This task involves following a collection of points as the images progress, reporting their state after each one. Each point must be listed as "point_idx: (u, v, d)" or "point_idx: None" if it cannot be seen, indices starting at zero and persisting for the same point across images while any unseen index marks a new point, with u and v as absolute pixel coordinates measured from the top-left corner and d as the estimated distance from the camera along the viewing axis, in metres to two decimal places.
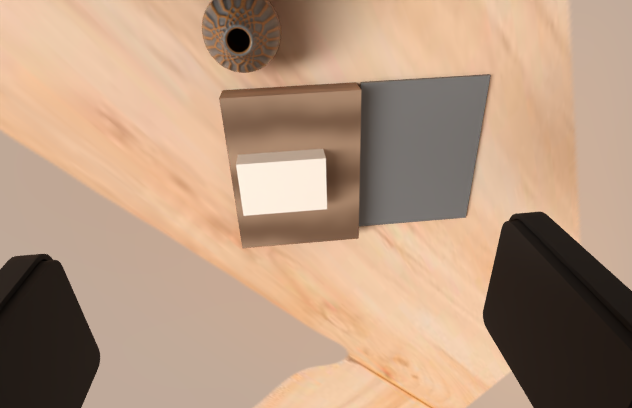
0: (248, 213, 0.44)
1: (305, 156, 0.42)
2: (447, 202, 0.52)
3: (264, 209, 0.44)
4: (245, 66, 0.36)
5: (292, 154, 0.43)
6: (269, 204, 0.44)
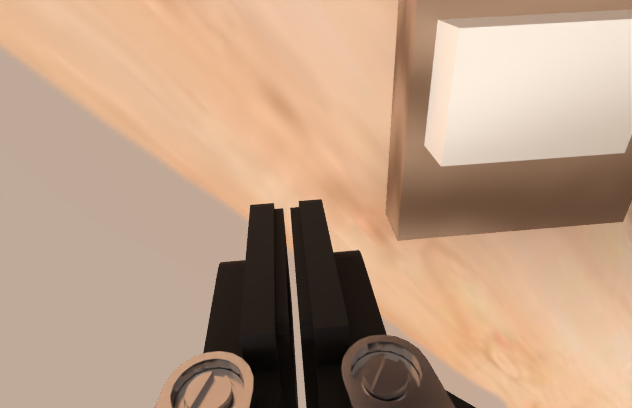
0: (453, 160, 0.19)
1: (615, 16, 0.17)
2: None
3: (491, 152, 0.19)
4: None
5: (576, 16, 0.18)
6: (506, 138, 0.19)
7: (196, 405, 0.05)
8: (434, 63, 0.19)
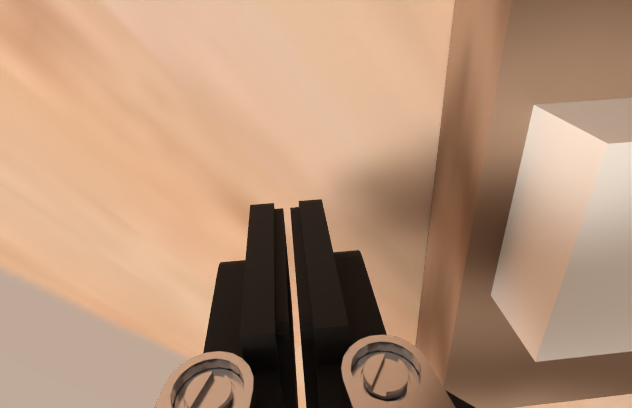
0: (558, 353, 0.11)
1: None
2: None
3: (627, 338, 0.11)
4: None
5: None
6: None
7: (196, 405, 0.05)
8: (521, 178, 0.11)
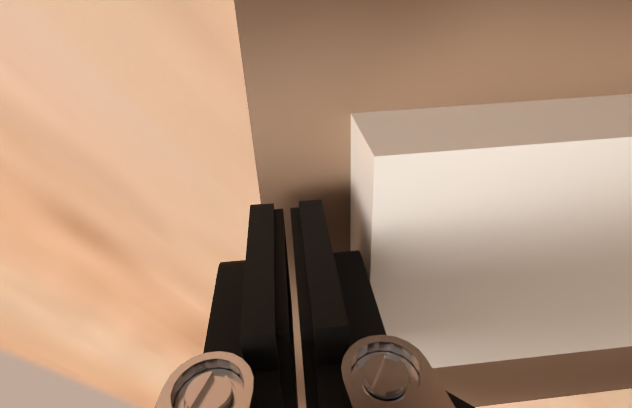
0: None
1: None
2: None
3: (459, 351, 0.10)
4: None
5: (618, 110, 0.09)
6: (486, 330, 0.10)
7: (196, 405, 0.05)
8: (351, 187, 0.10)
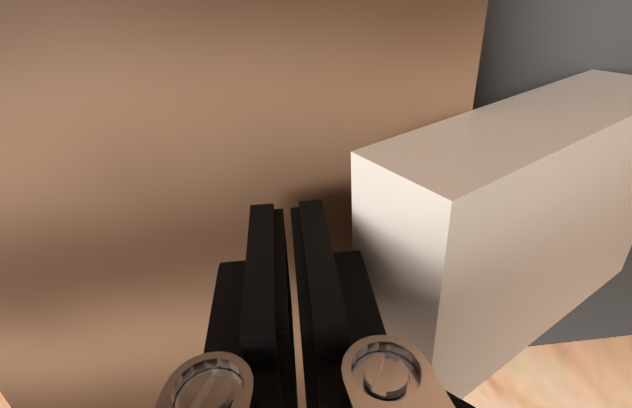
0: None
1: (621, 94, 0.10)
2: None
3: (493, 362, 0.10)
4: None
5: (566, 100, 0.10)
6: (512, 332, 0.10)
7: (196, 405, 0.05)
8: (357, 233, 0.09)
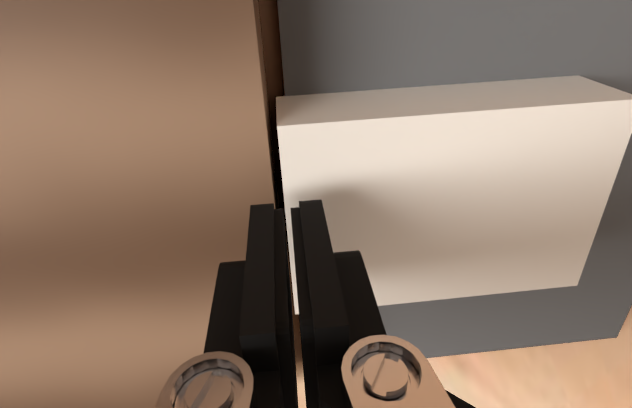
0: None
1: (546, 95, 0.11)
2: (573, 302, 0.17)
3: None
4: None
5: (487, 92, 0.11)
6: (390, 275, 0.12)
7: (196, 405, 0.05)
8: None
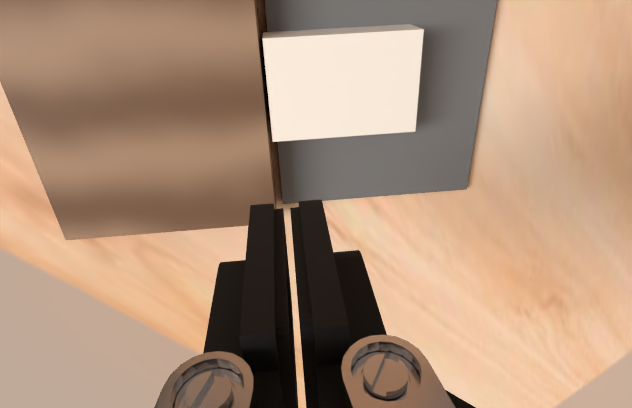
0: (281, 137, 0.25)
1: (385, 29, 0.24)
2: (434, 161, 0.30)
3: (309, 131, 0.25)
4: None
5: (361, 29, 0.24)
6: (318, 120, 0.25)
7: (196, 405, 0.05)
8: None
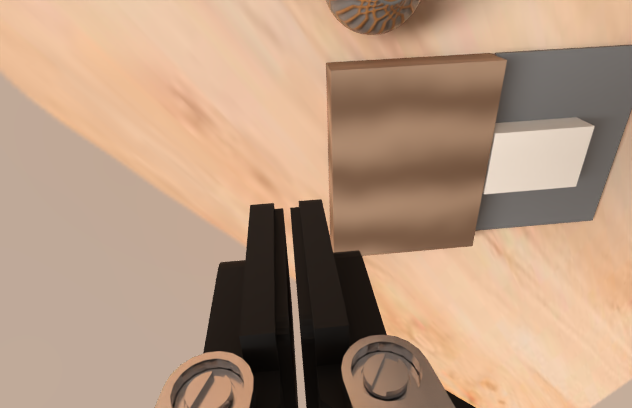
0: (490, 191, 0.39)
1: (567, 124, 0.37)
2: (574, 202, 0.43)
3: (509, 187, 0.39)
4: (383, 23, 0.27)
5: (549, 123, 0.37)
6: (516, 180, 0.38)
7: (196, 405, 0.05)
8: None
